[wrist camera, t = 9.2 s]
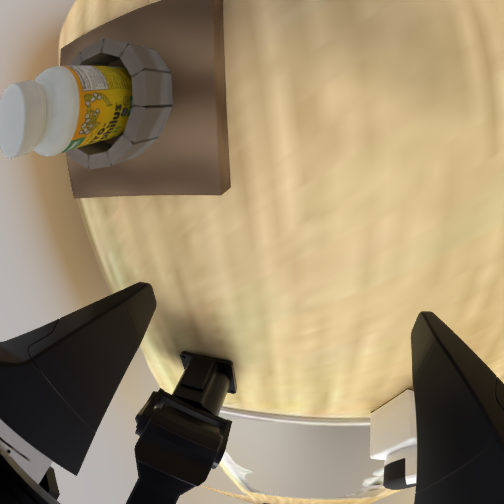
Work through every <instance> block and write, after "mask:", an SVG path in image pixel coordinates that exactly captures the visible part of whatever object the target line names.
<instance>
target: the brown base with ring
mask: <svg viewBox="0 0 504 504" xmlns="http://www.w3.org/2000/svg"><path fill="white" fill-rule="evenodd" d="M75 65H85V66H115V67H125V68H127V70H128V72H129V73H130V75H131V76H132V95H133V108H132V110H131V113H130V116H129V119H128V122H127V125H126V128H125V131H124V134H123V135H121V136H118V137H114V138H110V139H106V140H102V141H99V142H95V143H92V144H88V145H84V146H81V147H78V148H75V149H72V150H69V151H66V157H67V164H68V170H69V174H70V181H71V186H72V191H73V196H74V198H91V197H111V196H139V195H222V194H223V193H225V192H226V191H227V190H228V189H229V188H230V187H231V186H230V169H229V151H228V132H227V111H226V89H225V64H224V33H223V0H161V1H158V2H155V3H153V4H150V5H147V6H145V7H142V8H139V9H137V10H134V11H132V12H130V13H127V14H125V15H123V16H120V17H118V18H116V19H114V20H112V21H110V22H108V23H106V24H104V25H102V26H100V27H98V28H96V29H94V30H92V31H90V32H88V33H87V34H85V35H83V36H81V37H80V38H78V39H76V40H74V41H73V42H71V43H69V44H68V45H66V46H65V47H63V48H62V49H61V58H60V66H75Z"/></svg>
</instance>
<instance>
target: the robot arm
mask: <svg viewBox="0 0 504 504" xmlns="http://www.w3.org/2000/svg"><path fill="white" fill-rule="evenodd" d="M155 309H156V299H155V295H154V292H153V288H152V286H151V284H149V283H145V282H139V283H136V284H134V285H132V286H130V287H127V288H125V289H123V290H121V291H119V292H116V293H114V294H112V295H110V296H107V297H105V298H103V299H101V300H99V301H96V302H94V303H92V304H90V305H88V306H85V307H83V308H81V309H79V310H77V311H75V312H72V313H71V314H68V315H66V316H64V317H62V318H60V319H57V320H55V321H53V322H51V323H49V324H46V325H44V326H42V327H40V328H37V329H35V330H33V331H30V332H27V333H25V334H23V335H20V336H18V337H15V338H12V339H10V340H7V341H4V342H0V504H60V503H59V502H58V501H57V498H58V497H59V495H60V494H59V490H58V486H57V482H56V478H55V473H54V469H53V468H52V467H51V466H50V465H51V463H52V462H53V461H54V462H55V463H57V464H58V465H60V466H61V467H63V468H64V469H66V470H68V471H69V472H71V473H73V474H74V475H76V476H77V474H78V472H79V470H80V468H81V465H82V463H83V461H84V458H85V456H86V454H87V451H88V449H89V447H90V444H91V443H92V440H93V438H94V436H95V434H96V431H97V429H98V427H99V425H100V423H101V421H102V418H103V416H104V414H105V412H106V410H107V408H108V406H109V404H110V402H111V400H112V398H113V396H114V394H115V392H116V390H117V388H118V386H119V384H120V382H121V380H122V378H123V376H124V374H125V372H126V370H127V368H128V366H129V365H130V362H131V361H132V359H133V357H134V355H135V353H136V351H137V349H138V348H139V346H140V344H141V342H142V339H143V337H144V335H145V332H146V330H147V328H148V325H149V323H150V321H151V318H152V316H153V314H154V311H155ZM411 348H412V378H413V388H414V398H415V411H416V429H417V475H416V494H415V502H414V504H504V384H503V382H502V381H501V380H500V379H499V378H498V377H497V376H496V375H495V374H494V373H493V371H492V370H491V369H490V368H489V367H488V366H487V365H486V364H485V363H484V362H483V361H482V360H481V359H480V358H479V357H478V356H477V355H476V354H475V353H474V352H473V351H472V350H471V349H470V348H469V347H468V346H467V345H466V344H465V343H464V342H463V341H462V340H461V339H460V338H459V337H458V336H457V335H456V334H455V333H454V332H453V331H452V330H451V329H450V328H449V327H448V326H447V325H446V324H445V323H444V322H443V321H441V320H440V319H439V318H438V317H437V316H436V315H435V314H434V313H433V312H430V311H422V312H420V313H419V315H418V317H417V319H416V322H415V324H414V327H413V329H412V332H411ZM180 357H181V360H182V363H183V366H184V369H185V371H184V373H183V375H182V376H181V378H180V380H179V382H178V384H177V386H176V388H175V390H174V392H173V394H172V395H171V394H169V393H167V392H165V390H163V389H161V388H160V389H159V391H158V392H155V391H154V392H153V393H152V394H151V396H150V398H149V400H148V401H147V403H146V404H145V405H144V407H143V408H142V409H141V410H140V412H139V413H138V414H137V416H136V418H135V420H136V422H137V426H136V428H137V429H136V434H137V435H139V436H140V438H139V439H138V442H137V443H136V445H135V457H136V463H137V470H138V476H139V478H138V480H137V482H136V484H135V486H134V488H133V490H132V492H131V494H130V496H129V498H128V500H127V502H126V504H176V502H177V500H178V498H179V496H180V495H182V494H183V493H185V492H187V491H188V490H190V489H192V488H194V487H195V486H199V485H200V484H202V483H203V482H204V481H205V480H206V478H207V476H208V474H209V472H210V470H211V468H212V469H215V468H216V467H217V466H218V464H219V463H220V461H221V459H222V457H223V454H224V452H225V449H226V444H227V441H228V436H229V432H230V428H231V424H232V421H230V420H228V419H227V420H226V419H223V418H221V417H218V415H219V412H220V410H221V407H222V404H223V402H224V399H225V396H226V394H227V392H228V393H232V394H235V393H236V391H237V389H236V382H235V375H234V368H233V364H232V363H231V362H229V361H224V360H219V359H214V358H210V357H205V356H200V355H196V354H192V353H188V352H181V354H180ZM496 377H497V378H496Z"/></svg>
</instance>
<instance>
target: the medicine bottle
mask: <svg viewBox="0 0 504 504" xmlns="http://www.w3.org/2000/svg"><path fill="white" fill-rule="evenodd" d="M370 436H371V438H370V458H373V459H380V460H386V461H385V463H384V483H383V486H384V487H385V488H388V489H392V490H398V489H405V488H410V487H414V486H416V475H417V429H416V411H415V398H414V391H412V390H409V389H407V390H405V391H404V392H403V393H401V394H400V395H398V396H397V397H395V398H394V399H392V400H391V401H389V402H388V403H386V404H385V405H383V406H382V407H380V408H379V409H377V410H375V411H374V412H372V413H371V435H370Z"/></svg>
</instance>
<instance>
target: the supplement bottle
mask: <svg viewBox="0 0 504 504" xmlns="http://www.w3.org/2000/svg"><path fill="white" fill-rule="evenodd" d="M132 108H133V95H132V76H131V75H130V73H129V72H128V70H127V68H125V67H115V66H85V65H75V66H56V67H51V68H49V69H46V70H45V71H43V72H42V73H41V74H40V75H38V76H37V77H36V79H35V80H34V81H31V80H28V81H24V82H18V83H13V84H11V85H9V86H8V87H7V88H6V90H5V91H4V93H3V95H2V97H1V99H0V148H1V150H2V152H3V153H4V155H5V156H6V157H8V158H11V159H12V158H16V157H19V156H22V155H25V154H28V153H30V152H31V151H32V150H34V151H35V152H36V153H38V154H40V155H43V156H54V155H57V154H60V153H63V152H66V151H69V150H72V149H75V148H78V147H81V146H84V145H88V144H92V143H95V142H99V141H102V140H106V139H110V138H114V137H118V136H121V135H123V134H124V131H125V128H126V125H127V122H128V119H129V116H130V113H131V110H132Z"/></svg>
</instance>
